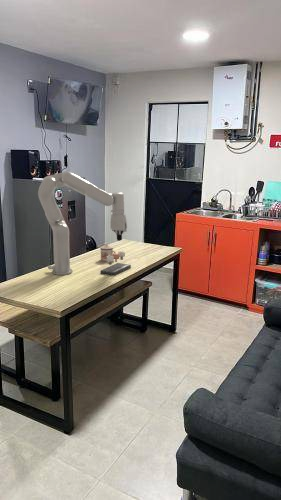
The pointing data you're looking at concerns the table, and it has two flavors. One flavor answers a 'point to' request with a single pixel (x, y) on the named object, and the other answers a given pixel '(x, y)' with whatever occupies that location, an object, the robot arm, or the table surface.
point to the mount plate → (115, 269)
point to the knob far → (121, 254)
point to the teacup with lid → (106, 252)
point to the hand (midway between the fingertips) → (119, 240)
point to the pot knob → (116, 256)
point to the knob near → (110, 259)
